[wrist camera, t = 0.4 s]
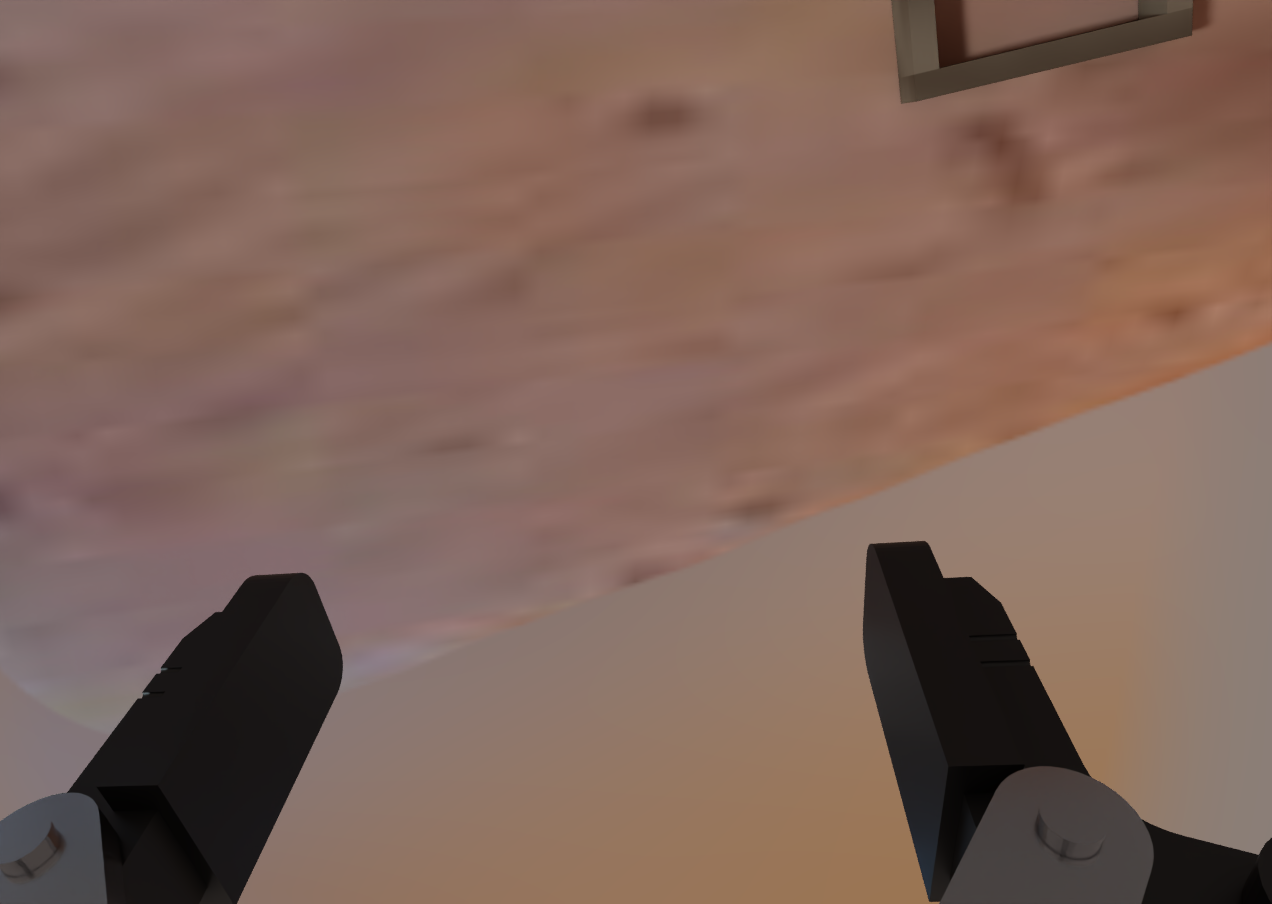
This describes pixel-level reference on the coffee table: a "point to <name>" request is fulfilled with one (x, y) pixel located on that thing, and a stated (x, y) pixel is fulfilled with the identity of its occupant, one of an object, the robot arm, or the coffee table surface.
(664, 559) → the coffee table surface
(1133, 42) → the square wooden frame
